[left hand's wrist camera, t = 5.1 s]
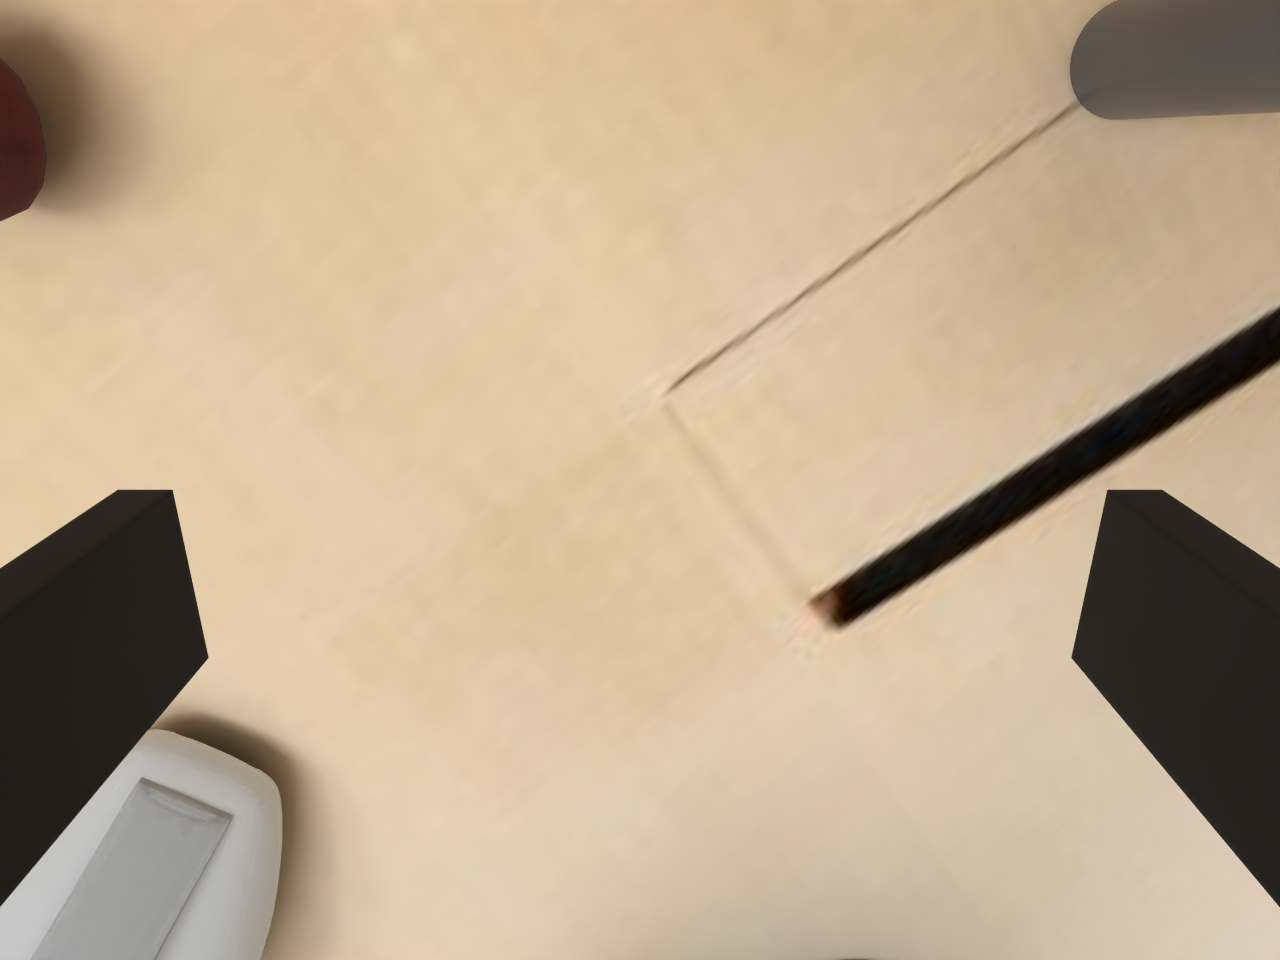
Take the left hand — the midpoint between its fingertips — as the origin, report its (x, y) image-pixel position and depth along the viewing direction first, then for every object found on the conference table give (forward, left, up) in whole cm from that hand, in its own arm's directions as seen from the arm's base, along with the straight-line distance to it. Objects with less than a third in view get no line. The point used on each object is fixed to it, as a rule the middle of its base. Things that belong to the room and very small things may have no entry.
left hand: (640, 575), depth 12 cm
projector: (-34, +29, -28) cm, 53 cm away
